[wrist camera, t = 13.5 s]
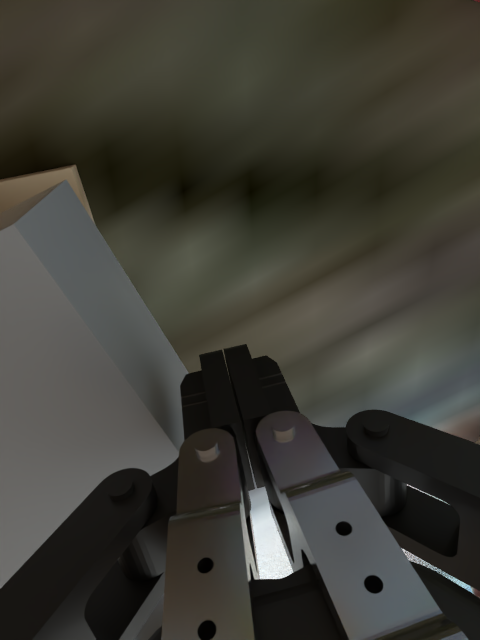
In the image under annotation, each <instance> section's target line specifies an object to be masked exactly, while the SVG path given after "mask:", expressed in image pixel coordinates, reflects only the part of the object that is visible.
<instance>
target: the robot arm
mask: <svg viewBox="0 0 480 640" xmlns="http://www.w3.org/2000/svg"><path fill="white" fill-rule="evenodd" d="M224 354H225V358H226V363H227V367H226V364H225V360H224V356H223V352H222V350H218V351H214V352H210V353H205V354H201V355H199V357H200V363H201V368H202V371H198V372H194V373H189V374H186V375H185V377H184V379H183V381H182V383H181V384H180V392H181V405H182V417H183V429H184V442H183V443H182V445H181V447H180V450H179V457H178V458H177V459H176V460H175V461H174V462H173V463H172V464H170V465H169V466H168V467H166V468H164V469H163V470H161V471H159V472H157V473H155V474H153V475H151V476H150V475H149V474H148V473H147V472H146V471H144V470H142V469H139V468H126V469H122V470H119V471H117V472H114V473H112V474H111V475H109V476H108V477H106V478H105V479H104V480H103V481H102V482H101V483H100V484H99V485H98V486H97V487H96V488H95V489H94V490H93V491H92V492H91V493H90V494H89V495H88V496H87V497H86V498H85V499H84V501H83V502H82V503H81V504H80V505H79V506H78V507H77V508H76V509H75V510H74V511H73V512H72V513H71V514H70V515H69V516H68V518H67V519H66V520H65V521H64V522H63V523H62V524H61V525H60V526H59V527H58V528H57V529H56V530H55V531H54V532H53V533H52V535H51V536H50V537H49V538H48V539H47V540H46V541H45V542H44V543H43V544H42V545H41V546H40V547H39V548H38V549H37V550H36V551H35V553H34V554H33V555H32V556H31V557H30V558H29V559H28V560H27V561H26V562H25V563H24V564H23V565H22V566H21V567H20V568H19V570H18V571H17V572H16V573H15V574H14V575H13V576H12V577H11V578H10V579H9V580H8V581H7V582H6V583H5V584H4V585H3V587H2V588H1V589H0V640H480V598H479V597H477V596H476V595H474V594H472V593H471V592H469V591H467V590H466V589H464V588H462V587H461V586H459V585H457V584H456V583H454V582H452V581H451V580H449V579H447V578H446V577H444V576H442V575H441V574H439V573H437V572H435V571H433V570H431V569H429V568H427V567H425V566H423V565H420V564H417V563H414V562H411V561H409V560H408V559H407V557H406V556H405V554H404V552H403V551H402V549H401V548H403V549H405V550H406V551H408V552H410V553H412V554H414V555H415V556H417V557H419V558H421V559H423V560H424V561H426V562H428V563H430V564H432V565H433V566H435V567H437V568H439V569H441V570H442V571H444V572H446V573H448V574H450V575H451V576H453V577H455V578H457V579H459V580H460V581H462V582H464V583H466V584H468V585H469V586H471V587H473V588H475V589H477V590H478V591H480V445H479V444H476V443H474V442H471V441H468V440H465V439H462V438H460V437H457V436H454V435H451V434H448V433H446V432H443V431H440V430H437V429H434V428H432V427H429V426H426V425H423V424H421V423H418V422H415V421H412V420H409V419H407V418H404V417H401V416H398V415H395V414H393V413H390V412H387V411H382V410H366V411H362V412H359V413H357V414H355V415H353V416H352V417H351V418H350V419H349V420H348V422H347V424H346V427H336V428H331V427H321V426H318V425H315V424H312V423H310V421H309V420H308V418H307V417H305V416H304V415H302V414H300V412H299V410H298V408H297V405H296V403H295V401H294V399H293V397H292V395H291V392H290V390H289V388H288V386H287V384H286V382H285V379H284V377H283V375H282V373H281V371H280V369H279V366H278V364H277V363H276V362H275V361H274V360H272V359H271V358H269V357H268V356H262V357H258V358H254V359H252V358H251V355H250V353H249V350H248V347H247V345H246V344H244V345H240V346H235V347H231V348H227V349H224ZM227 368H228V371H227ZM228 373H229V375H228ZM229 377H230V379H229ZM230 382H231V383H230ZM244 439H245V440H244ZM245 443H246V444H245ZM246 447H247V449H246ZM247 451H248V454H247ZM248 455H249V459H250V462H251V466H252V470H253V474H254V478H255V482H256V485H257V488H261V487H264V486H265V488H266V491H267V495H268V499H269V504H270V509H271V513H272V516H273V519H274V521H275V524H276V527H277V529H278V532H279V535H280V537H281V540H282V543H283V545H284V548H285V550H286V553H287V556H288V558H289V561H290V564H291V566H292V569H293V572H294V573H292V574H290V575H289V576H287V577H285V578H282V579H260V576H259V569H258V562H257V554H256V547H255V540H254V532H253V525H252V518H251V513H250V510H251V501H250V497H249V492H248V491H249V490H253V489H255V487H254V483H253V478H252V473H251V468H250V464H249V459H248ZM407 484H408V485H411V486H413V487H415V488H417V489H419V490H422V491H424V492H426V493H428V494H430V495H432V496H435V497H437V498H439V499H441V500H443V501H445V502H447V503H448V504H446V503H444V502H442V501H440V500H438V499H435V498H433V497H431V496H429V495H427V494H425V493H422V492H420V491H418V490H416V489H414V488H411V487H409V486H407ZM449 504H450V505H449ZM400 547H401V548H400Z"/></svg>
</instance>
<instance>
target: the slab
mask: <svg viewBox="0 0 480 640" xmlns="http://www.w3.org/2000/svg"><path fill="white" fill-rule="evenodd" d="M186 374H189V373H188V371H187V370H186V368H185V367H184V365H183V363H182V362H181V360H180V359H179V357H178V355H177V354H176V352H175V351H174V349H173V348H172V346H171V344H170V343H169V341H168V340H167V338H166V336H165V335H164V333H163V332H162V330H161V329H160V327H159V325H158V324H157V322H156V321H155V319H154V317H153V316H152V314H151V313H150V311H149V309H148V308H147V306H146V305H145V303H144V302H143V300H142V298H141V297H140V295H139V294H138V292H137V290H136V289H135V287H134V286H133V284H132V283H131V281H130V279H129V278H128V276H127V275H126V273H125V271H124V270H123V268H122V267H121V265H120V263H119V262H118V260H117V259H116V257H115V256H114V254H113V252H112V251H111V249H110V248H109V246H108V244H107V243H106V241H105V240H104V238H103V237H102V235H101V233H100V232H99V230H98V229H97V227H96V225H95V224H94V222H93V221H92V219H91V218H90V216H89V214H88V213H87V211H86V210H85V208H84V206H83V205H82V203H81V202H80V200H79V198H78V197H77V195H76V194H75V192H74V191H73V189H72V187H71V186H70V184H69V183H68V181H67V179H66V180H64V181H62V182H60V183H58V184H56V185H54V186H52V187H50V188H48V189H46V190H44V191H42V192H40V193H38V194H37V195H35V196H33V197H31V198H29V199H27V200H25V201H23V202H21V203H19V204H17V205H15V206H13V207H11V208H9V209H8V210H6V211H4V212H2V213H0V589H1V588H2V587H3V585H4V584H5V583H6V582H7V581H8V580H9V579H10V578H11V577H12V576H13V575H14V574H15V573H16V572H17V571H18V570H19V568H20V567H21V566H22V565H23V564H24V563H25V562H26V561H27V560H28V559H29V558H30V557H31V556H32V555H33V554H34V553H35V551H36V550H37V549H38V548H39V547H40V546H41V545H42V544H43V543H44V542H45V541H46V540H47V539H48V538H49V537H50V536H51V535H52V533H53V532H54V531H55V530H56V529H57V528H58V527H59V526H60V525H61V524H62V523H63V522H64V521H65V520H66V519H67V518H68V516H69V515H70V514H71V513H72V512H73V511H74V510H75V509H76V508H77V507H78V506H79V505H80V504H81V503H82V502H83V501H84V499H85V498H86V497H87V496H88V495H89V494H90V493H91V492H92V491H93V490H94V489H95V488H96V487H97V486H98V485H99V484H100V483H101V482H102V481H103V480H104V479H105V478H106V477H108V476H109V475H111V474H112V473H114V472H117V471H119V470H122V469H126V468H139V469H142V470H144V471H146V472H147V473H148V474H149V475H150V476H151V475H153V474H155V473H157V472H159V471H161V470H163V469H164V468H166V467H168V466H169V465H170V464H172V463H173V462H174V461H175V460H176V459H177V458H178V457H179V450H180V447H181V445H182V443H183V442H184V429H183V417H182V405H181V392H180V384H181V383H182V381H183V379H184V377H185V375H186Z"/></svg>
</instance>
